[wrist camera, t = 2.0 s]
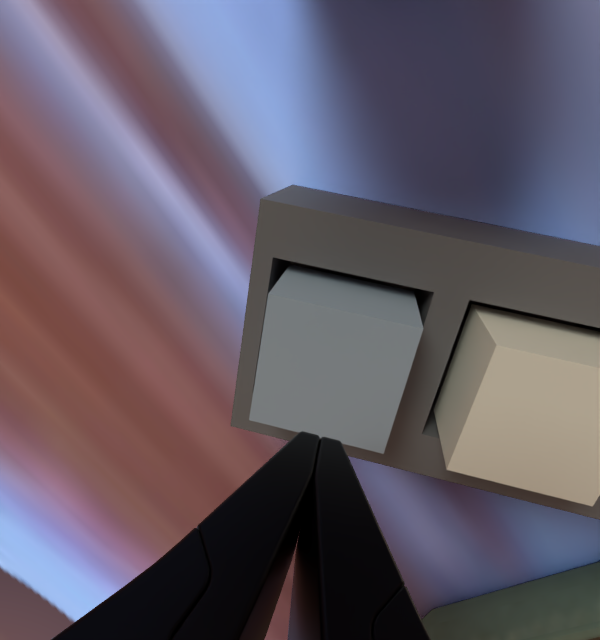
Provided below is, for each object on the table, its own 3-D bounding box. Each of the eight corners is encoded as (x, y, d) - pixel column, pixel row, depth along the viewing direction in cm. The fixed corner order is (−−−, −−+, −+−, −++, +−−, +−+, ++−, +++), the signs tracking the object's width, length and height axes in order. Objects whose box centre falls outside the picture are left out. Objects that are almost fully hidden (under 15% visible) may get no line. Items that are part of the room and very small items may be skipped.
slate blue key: (414, 291, 13) (423, 328, 11) (382, 397, 15) (383, 453, 12) (290, 264, 14) (268, 293, 11) (272, 371, 15) (248, 420, 13)
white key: (605, 332, 13) (666, 383, 10) (551, 438, 14) (592, 506, 12) (472, 304, 13) (496, 345, 10) (433, 410, 15) (446, 470, 12)
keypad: (773, 280, 15) (945, 338, 11) (660, 456, 18) (754, 559, 14) (292, 184, 17) (260, 198, 12) (264, 361, 20) (230, 426, 15)
